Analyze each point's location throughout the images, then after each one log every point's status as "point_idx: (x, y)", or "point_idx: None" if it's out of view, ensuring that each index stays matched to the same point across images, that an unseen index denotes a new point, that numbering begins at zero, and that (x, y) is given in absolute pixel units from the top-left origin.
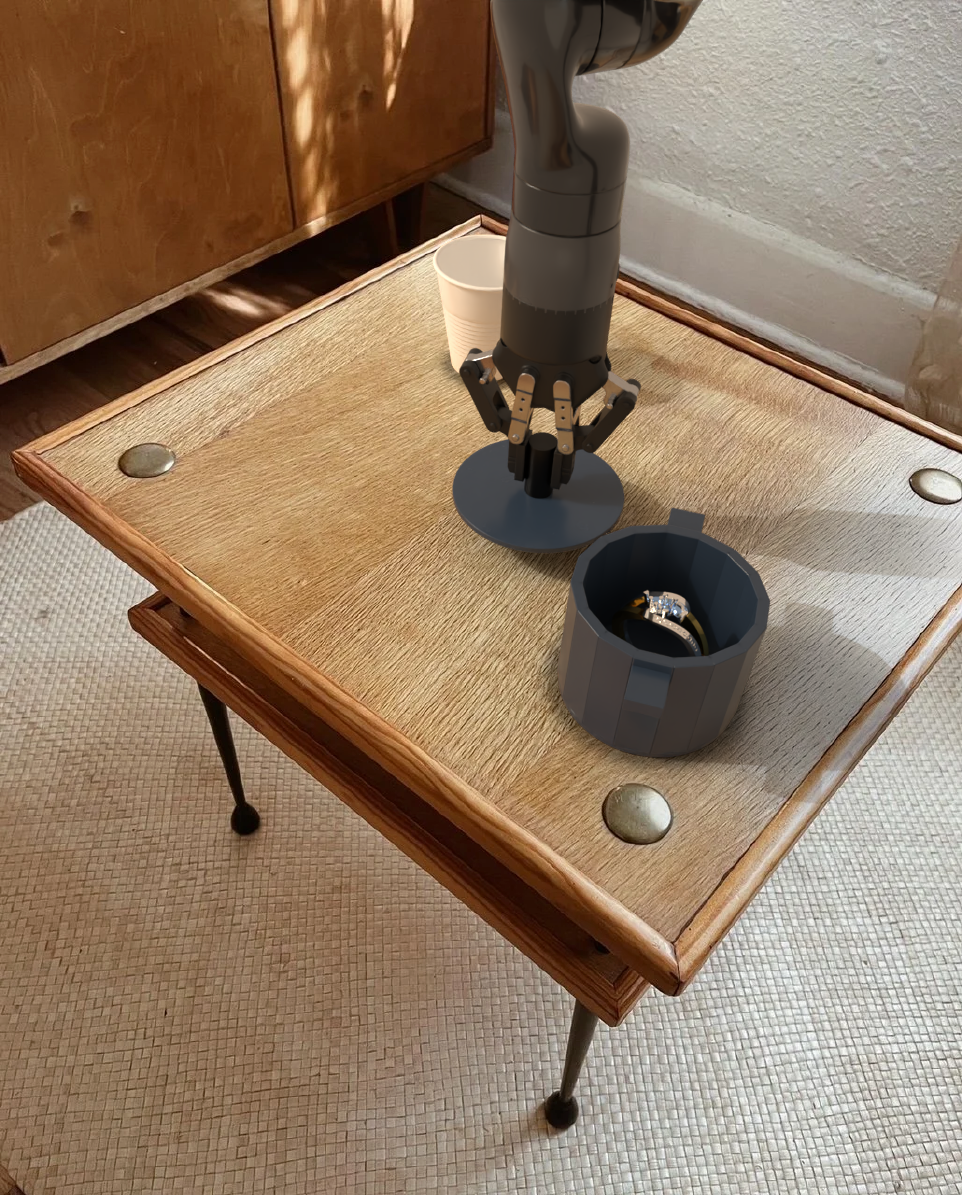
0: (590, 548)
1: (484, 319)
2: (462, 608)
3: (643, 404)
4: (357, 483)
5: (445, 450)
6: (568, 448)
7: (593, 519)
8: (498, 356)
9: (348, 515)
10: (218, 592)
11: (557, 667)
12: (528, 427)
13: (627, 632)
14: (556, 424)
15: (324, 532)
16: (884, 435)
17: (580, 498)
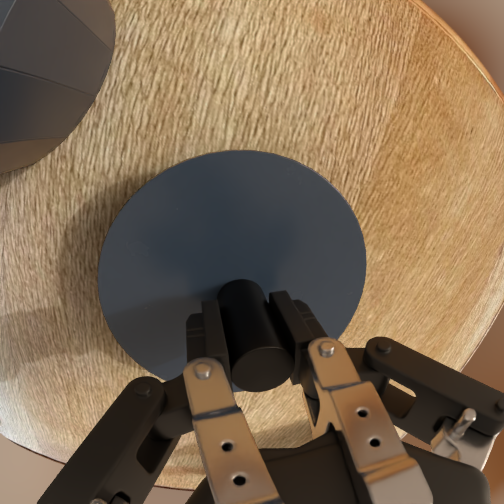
0: (5, 13)
1: None
2: (272, 68)
3: (191, 445)
4: (431, 239)
5: (362, 326)
6: (194, 372)
7: (128, 272)
8: (483, 490)
9: (432, 188)
10: (474, 64)
11: (113, 12)
12: (305, 384)
13: None
14: (242, 421)
15: (443, 156)
16: (33, 445)
17: (168, 308)
